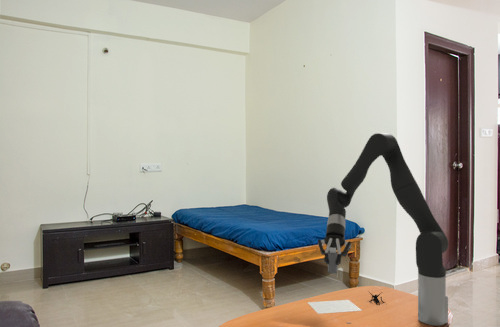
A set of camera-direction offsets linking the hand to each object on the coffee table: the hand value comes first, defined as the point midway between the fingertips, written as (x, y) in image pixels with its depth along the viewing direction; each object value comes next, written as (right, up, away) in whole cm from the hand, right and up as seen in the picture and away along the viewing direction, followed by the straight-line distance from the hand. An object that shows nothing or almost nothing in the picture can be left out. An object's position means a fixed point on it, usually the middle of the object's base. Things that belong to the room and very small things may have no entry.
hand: (332, 263), depth 149 cm
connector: (+1, -4, +2) cm, 4 cm away
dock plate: (+1, -19, +3) cm, 19 cm away
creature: (+20, -19, +8) cm, 29 cm away
